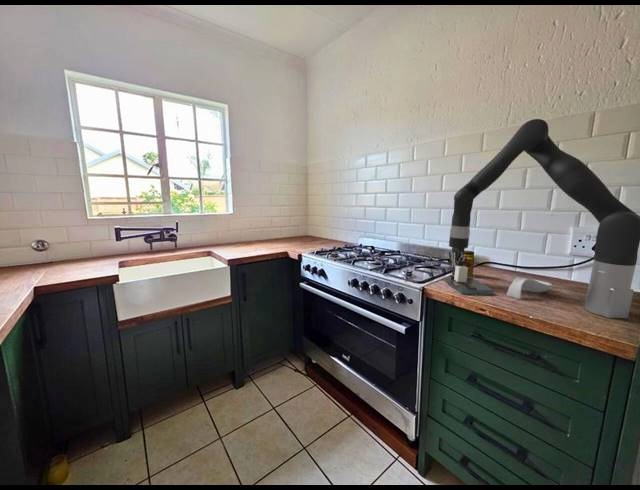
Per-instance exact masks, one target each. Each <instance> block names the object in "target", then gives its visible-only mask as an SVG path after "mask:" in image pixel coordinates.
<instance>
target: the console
mask: <svg viewBox="0 0 640 490" xmlns="http://www.w3.org/2000/svg"><path fill="white" fill-rule="evenodd" d="M444 283H446V284H447V285H448V286H450V287H451V288H453V289H454V290H455V291H456V292H458V293H459V294H460V295H466V296H467V295H469V296H470V295H471V296H472V295H473V296H476V295H478V296H494V292H495V291H494V289H492V288H490V287H489V286H487V285H486V284H483V283H482V282H480V281H478V280H477V279H476V278H473V277H467V281H466V282H457V281H456V280H454V275H450V277H446V276H445V277H444Z"/></svg>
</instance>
